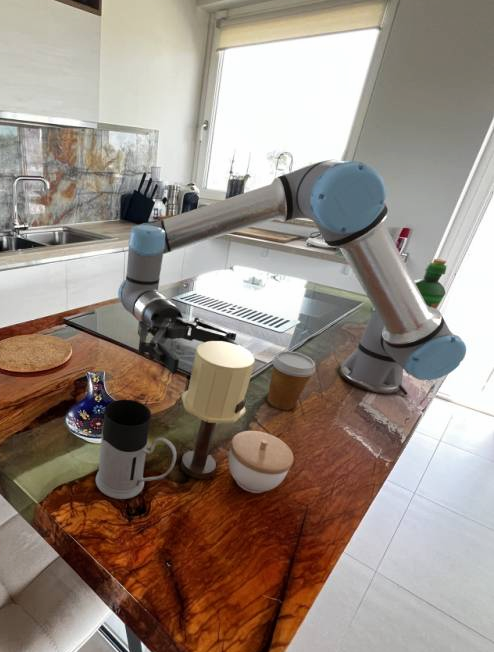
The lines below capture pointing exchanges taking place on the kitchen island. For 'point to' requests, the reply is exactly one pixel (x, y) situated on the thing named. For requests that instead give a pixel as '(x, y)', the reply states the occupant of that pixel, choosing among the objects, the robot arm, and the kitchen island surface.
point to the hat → (219, 382)
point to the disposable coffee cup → (289, 378)
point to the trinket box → (259, 461)
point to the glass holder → (126, 449)
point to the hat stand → (200, 454)
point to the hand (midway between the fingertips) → (211, 362)
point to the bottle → (432, 283)
